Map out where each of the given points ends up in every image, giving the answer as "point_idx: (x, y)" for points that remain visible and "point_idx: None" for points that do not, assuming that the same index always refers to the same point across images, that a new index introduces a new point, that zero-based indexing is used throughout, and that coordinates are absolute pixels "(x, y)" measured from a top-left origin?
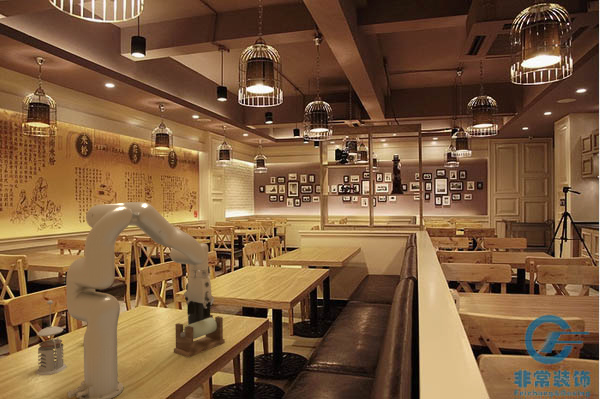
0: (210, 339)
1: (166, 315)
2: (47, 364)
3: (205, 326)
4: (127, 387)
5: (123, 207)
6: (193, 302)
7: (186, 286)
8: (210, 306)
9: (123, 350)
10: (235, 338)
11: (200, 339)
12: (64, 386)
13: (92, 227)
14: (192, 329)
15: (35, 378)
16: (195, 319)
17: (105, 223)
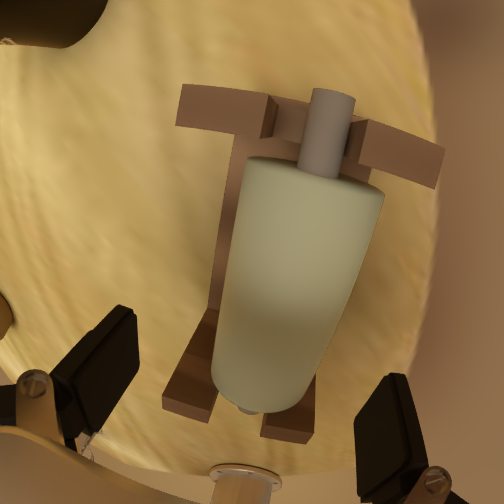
0: (298, 157)
1: None
2: (88, 441)
3: (340, 316)
4: (273, 467)
5: None
6: (54, 393)
7: None
8: (441, 489)
9: (69, 336)
10: (390, 44)
11: (238, 181)
12: (166, 463)
13: None
14: (312, 425)
15: (102, 440)
16: (53, 27)
17: None
